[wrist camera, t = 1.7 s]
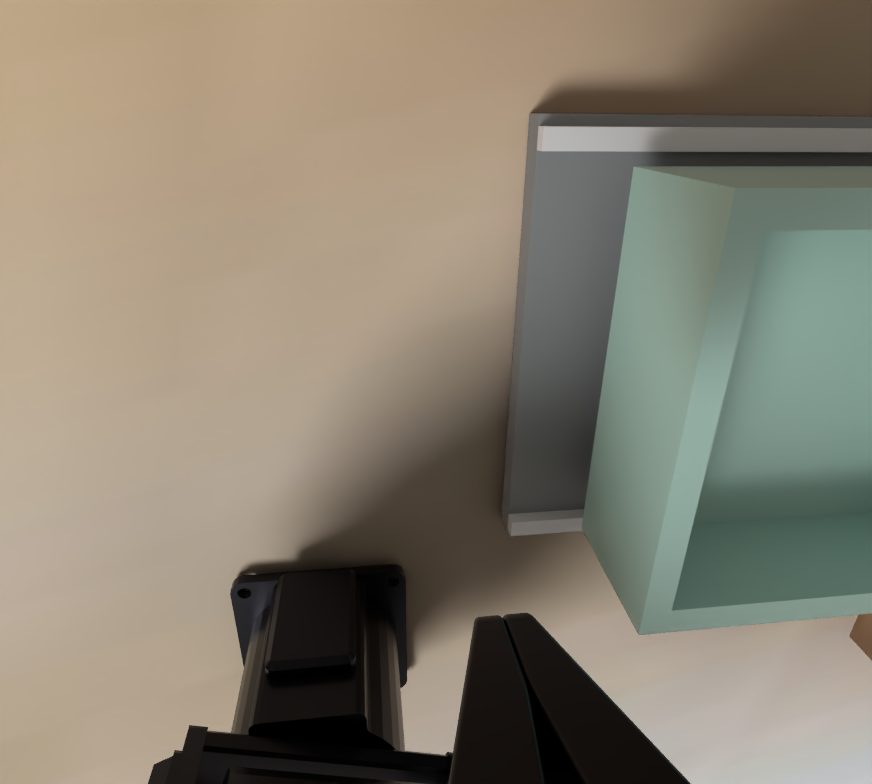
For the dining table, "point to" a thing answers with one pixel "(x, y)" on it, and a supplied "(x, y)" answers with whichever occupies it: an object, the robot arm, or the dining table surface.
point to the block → (863, 633)
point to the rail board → (607, 273)
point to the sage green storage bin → (738, 399)
